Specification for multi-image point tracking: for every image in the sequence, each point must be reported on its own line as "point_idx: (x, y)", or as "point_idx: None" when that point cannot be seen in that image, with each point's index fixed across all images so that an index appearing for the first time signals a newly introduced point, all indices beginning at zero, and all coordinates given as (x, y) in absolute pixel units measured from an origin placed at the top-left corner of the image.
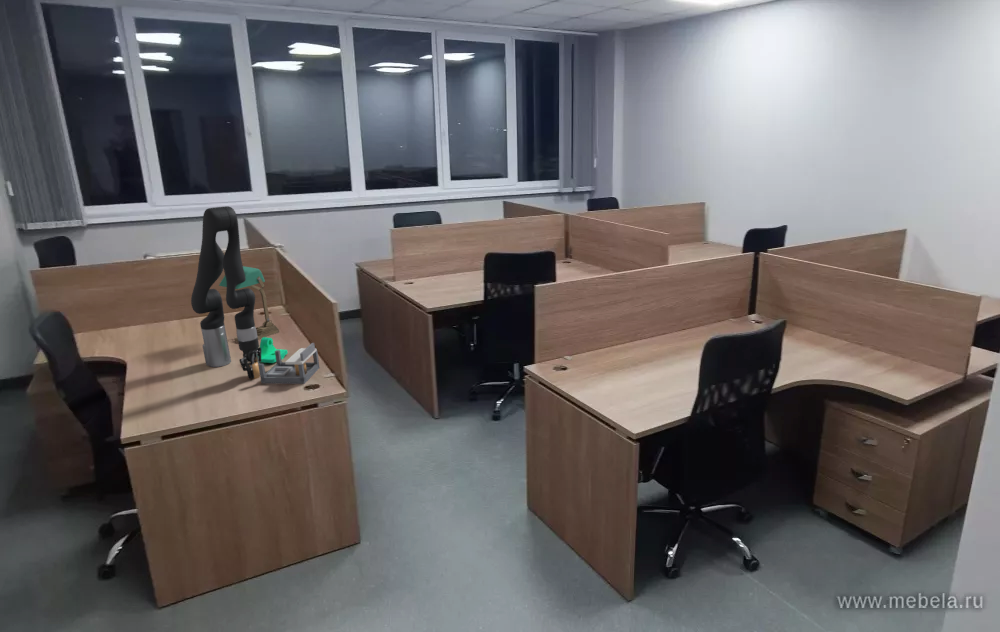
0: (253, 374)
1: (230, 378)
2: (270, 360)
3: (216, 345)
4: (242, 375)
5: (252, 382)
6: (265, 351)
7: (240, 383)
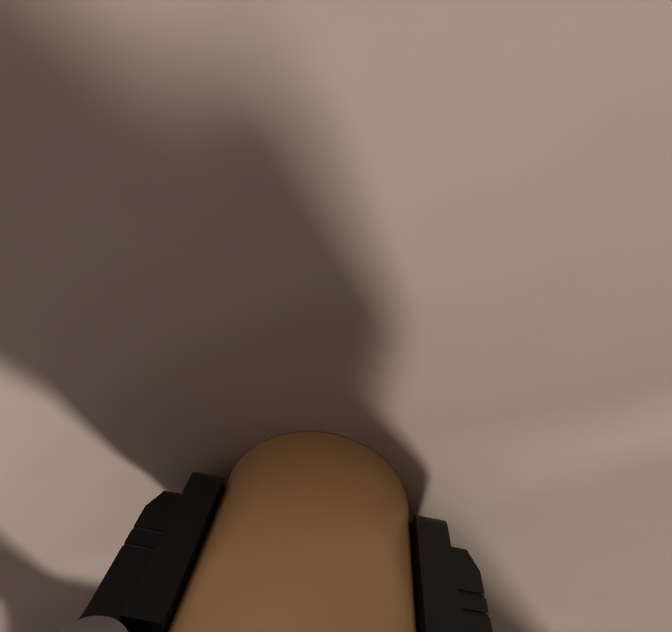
0: None
1: (306, 57)
2: None
3: None
4: (436, 289)
5: (103, 521)
6: None
7: (53, 359)
